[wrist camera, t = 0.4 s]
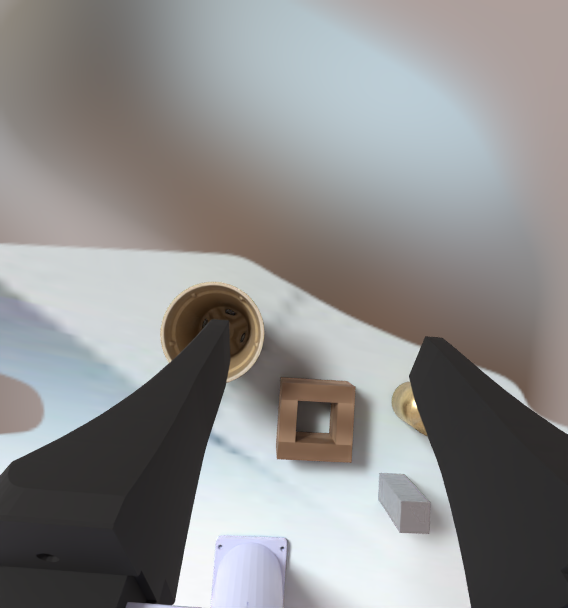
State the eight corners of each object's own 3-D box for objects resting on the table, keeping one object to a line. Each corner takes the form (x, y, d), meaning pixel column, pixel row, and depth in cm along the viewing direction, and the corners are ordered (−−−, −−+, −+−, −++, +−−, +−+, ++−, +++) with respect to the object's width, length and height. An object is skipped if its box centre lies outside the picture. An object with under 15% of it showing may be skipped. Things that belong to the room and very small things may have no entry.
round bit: (429, 423, 38) (454, 437, 33) (390, 420, 38) (409, 435, 33) (430, 382, 38) (455, 391, 33) (392, 380, 38) (411, 388, 33)
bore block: (343, 449, 37) (351, 462, 34) (275, 446, 37) (277, 459, 33) (347, 381, 38) (355, 387, 34) (280, 377, 37) (282, 382, 34)
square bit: (403, 500, 37) (429, 533, 31) (378, 499, 37) (399, 532, 31) (404, 474, 37) (430, 502, 31) (379, 472, 37) (401, 501, 31)
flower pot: (260, 288, 38) (259, 277, 29) (268, 366, 37) (268, 379, 29) (181, 295, 37) (156, 286, 29) (187, 375, 37) (164, 390, 28)
